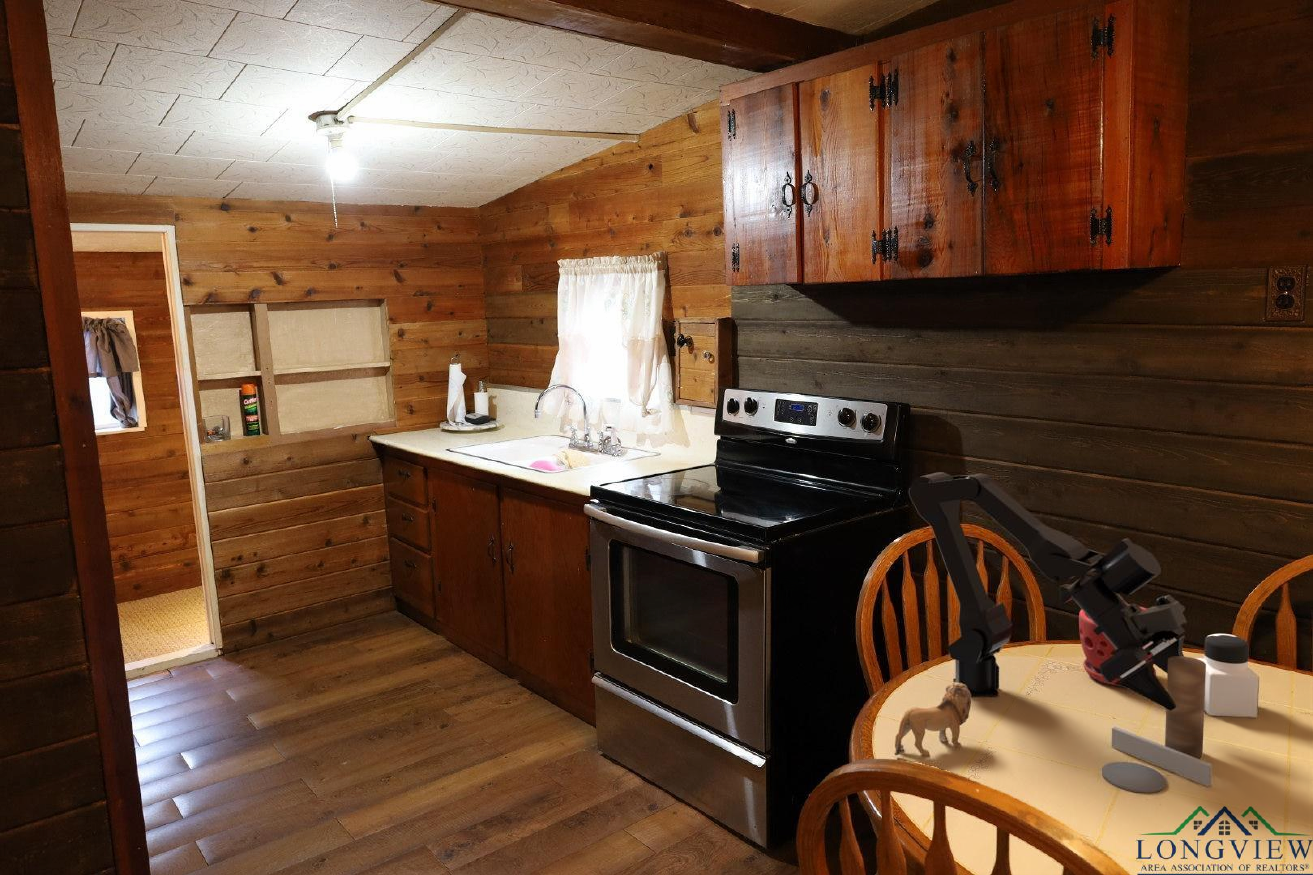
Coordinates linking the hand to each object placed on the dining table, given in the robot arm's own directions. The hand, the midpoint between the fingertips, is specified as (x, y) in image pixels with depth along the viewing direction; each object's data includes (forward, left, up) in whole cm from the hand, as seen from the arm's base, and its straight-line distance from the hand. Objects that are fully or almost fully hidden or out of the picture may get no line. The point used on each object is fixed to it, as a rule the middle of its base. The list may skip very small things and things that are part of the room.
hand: (1185, 698), depth 130 cm
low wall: (-5, -4, -8) cm, 10 cm away
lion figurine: (-36, +1, -9) cm, 37 cm away
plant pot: (+1, +28, -9) cm, 29 cm away
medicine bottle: (+13, +16, -9) cm, 22 cm away
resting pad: (-10, -8, -8) cm, 15 cm away
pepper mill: (0, 0, -8) cm, 8 cm away
